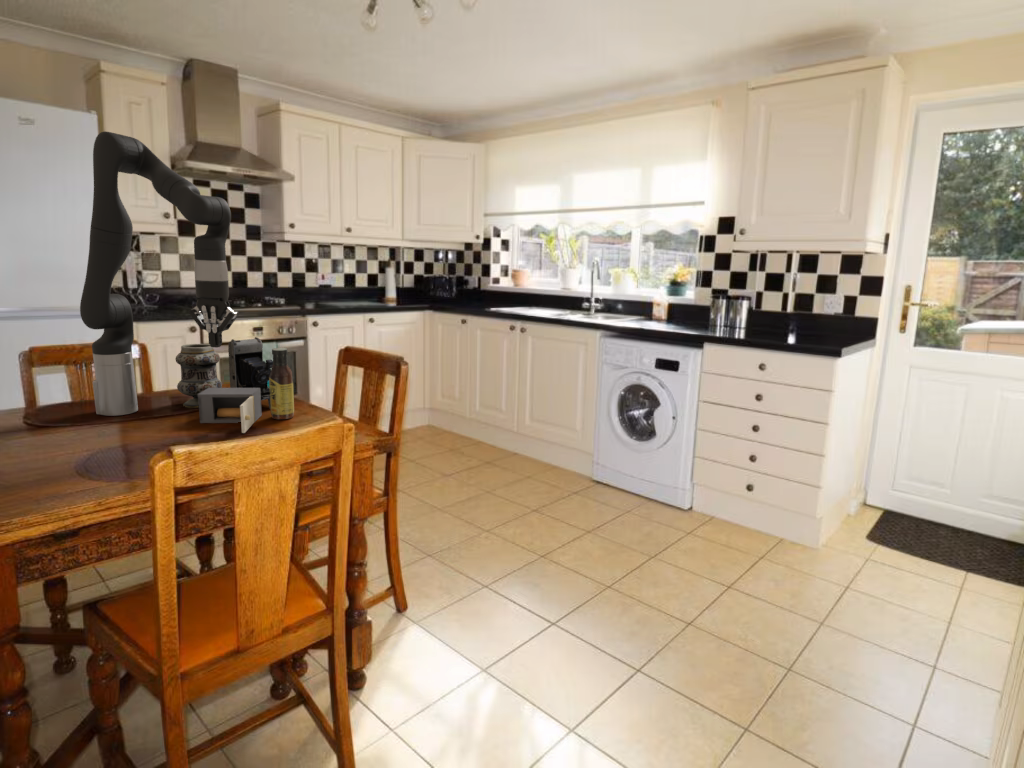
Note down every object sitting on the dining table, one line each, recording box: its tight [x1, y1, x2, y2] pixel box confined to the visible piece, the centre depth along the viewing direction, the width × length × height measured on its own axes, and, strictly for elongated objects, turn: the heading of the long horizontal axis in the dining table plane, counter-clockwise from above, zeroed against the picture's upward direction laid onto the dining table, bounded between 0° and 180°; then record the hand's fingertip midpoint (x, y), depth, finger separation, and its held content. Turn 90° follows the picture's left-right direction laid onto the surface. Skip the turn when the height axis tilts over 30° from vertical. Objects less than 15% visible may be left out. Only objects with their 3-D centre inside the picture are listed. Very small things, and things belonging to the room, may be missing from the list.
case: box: [198, 387, 263, 424], centre depth 169 cm, size 14×8×8 cm, turn 97°
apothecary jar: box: [175, 343, 223, 409], centre depth 183 cm, size 12×12×18 cm
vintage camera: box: [228, 336, 273, 410], centre depth 183 cm, size 10×15×20 cm, turn 53°
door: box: [240, 396, 256, 434], centre depth 161 cm, size 11×2×7 cm, turn 9°
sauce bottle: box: [268, 347, 295, 421], centre depth 170 cm, size 7×6×20 cm
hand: (215, 346), depth 156 cm, fingers closed
